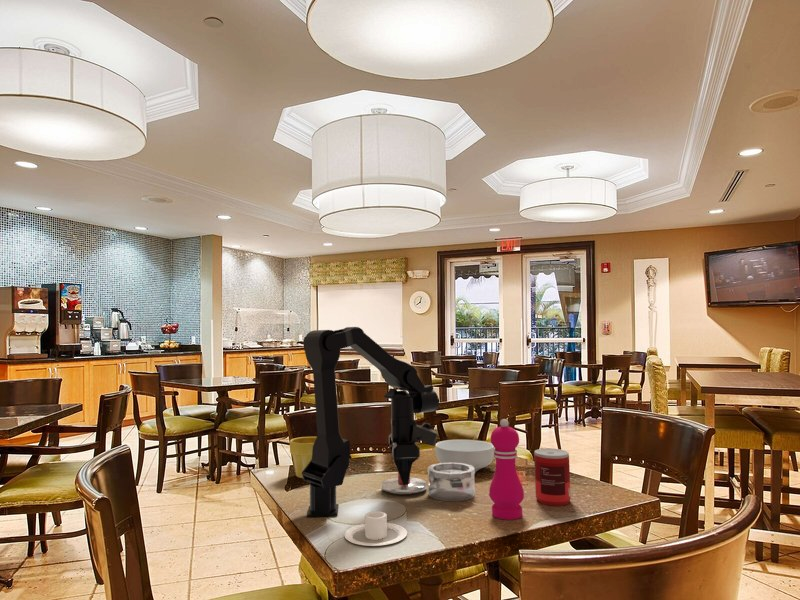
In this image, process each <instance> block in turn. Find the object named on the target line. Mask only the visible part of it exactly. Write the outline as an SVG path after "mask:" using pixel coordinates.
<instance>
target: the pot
mask: <svg viewBox="0 0 800 600" xmlns="http://www.w3.org/2000/svg"><path fill="white" fill-rule="evenodd" d="M427 474H428V475H427V477H428V480H427V482H428V483H427V485H428V496H429V497H430V498H431V499H433V498H434V500H437V501H441V502H464V501H468V500H471V499H473V498H474V497H475V495H476V493H475V492H476V491H475V490H476V489H475V485H476V484H475V474H476V472H475V468H474V467H473V466H472V465H468V464H465V463H454V462H450V463H440V462H438V463H433V464H430V465H429V466H427Z"/></svg>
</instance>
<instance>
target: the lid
mask: <svg viewBox="0 0 800 600" xmlns="http://www.w3.org/2000/svg"><path fill="white" fill-rule="evenodd" d="M427 482H428V481H426V480H424V479H422V478H418V477H417V478H416V477H411V475H410V476H409V481H408V484H407V485H404V484H403V482H402V480H401V477H400V474H399V472H398V471H397V477H392V478H388V479H385V480H383V481H381V490H382V491H384V492H386V493H389V494H395V495H412V493H413V494H417V493H421V492H424V491H425V490H427V486H428V483H427Z"/></svg>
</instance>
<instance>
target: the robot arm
mask: <svg viewBox="0 0 800 600" xmlns="http://www.w3.org/2000/svg"><path fill="white" fill-rule="evenodd" d="M302 342H303V343H302V345H303V350H304V354H305V358H306V361H307V363H308V364H309V366H310V369H311V370H312V376H313V391H314V403H315V417H316V418H315V420H316V431H317V434H316V437H317V438H316V440H315V442H314V445H313V450H312V459H311V461H310V462H309V463H308V465H307V466H306V468H305V469H304V470H303V472H302V476H303V478H302V479H303V481H304V482H307V483H309V506H308V509H307V513H306V517H309V518H310V517H313V518H314V517H330V516H332V517H334V516H335V517H336V516H338V515H339V504H338V503H337V487H339V486H341V485H343V484H344V480H345V476H346V473H347V470H348V469H349V466H350V460H352V455H351V450H350V449H351V443H350V440H349V439H344V438H343V437H342V436H341V433H340V424H339V411H338V410H339V409H338V408H339V407H338V396H337V381H336V368H337V365H338V363H339V360H340V358H341V356H340V355H341V350H342V349H345V348H348V347H350V348H352V349H353V350H354V351H355V352H356V353H358V354H359V355H360V356H361V357H362V358H364V359H365V360H367V362H369V363H370V364H371V365H372V366H374V367H375V368H376V369H378V372H380V374H381V376H382V377H381V378H383V380H384V381H385V382H386V383H387V385H388V386H389V387H390V388H389V390H388V391H387V392H386V393H385V394H384V395H383V398H384V399H388V400H389V399H390V410H391V412H390V413H391V414H390V415H391V416H390V417H391V418H390V424H391V427H390V428H391V433H390V434H388V444H389V449H390V451H391V455H392V459H393V462H394V463H395V466H396V469H397V473H398V472H399V474H400V477H401V480H402V482H403V484H404V485H407V484H408V481H409V476H410V477H411V471H412V467H413V466H412V465H413V463H415V462H416V461H417V460H419V459H420V456H421V451H420V446H419V445H418V444H417V443H418V441H420V442H422V443H423V442H424V443H426V444H428V445H429V446H432V447H433V446H434V447H435V445H436V441H437V438H438V432H437V431H436V430H434V429H432V427H431V424H430V423H428V422H423V423H422V424H421V425H420V424H417V421H416V420H415V414H424V413H430V412H435V411H436V410H438V408H439V405H440V398H439V396H438V394H437V392H436V391H435V390H434V385H429V384H427V385H424V383H423V382H422V380H421V378H420V376H419V375H418V371H417V369H416V367H414V366H413V365H411V364H410V363H408V362H405V361H404V360H400V359H399V358H398V359H397V358H395V357H394V356H393V355H391V354H390V353H389V352H388V351H387V350H386V349H384V348H383V347H382V346H381V345H380V344H378V343H377V342H376V341H375V340H373V339H372V338H371V336H369V335H367V334H366V332H364V330H363V329H362V328H361V327H359V326H346V327H345V328H341V329H336V330H332V329H319V330H318V329H317V330H316V329H315V330H310V331H309V332H308V333H306V335H304V338H303V341H302ZM396 388H397V389H398V390H397V389H396Z"/></svg>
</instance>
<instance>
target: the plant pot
mask: <svg viewBox="0 0 800 600" xmlns="http://www.w3.org/2000/svg"><path fill="white" fill-rule="evenodd" d="M316 438H317V436H301V437H295V438H291V439H290V440H289V453H290V454H291V455H292V461H293V466H294V471H295V472H294V473H295V476H296V477H297V478H300V479H303V476H302V472H303V470H304V469H305V468H306V466H307V465H308V463H309V462H310V461H311V459H312V450H313V445H314V442H315V440H316Z"/></svg>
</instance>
